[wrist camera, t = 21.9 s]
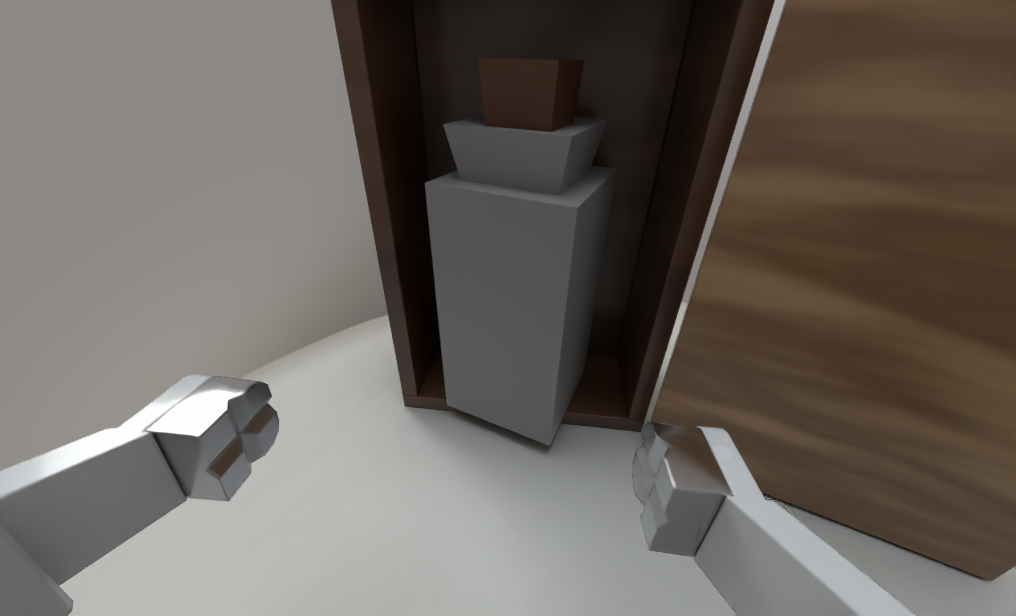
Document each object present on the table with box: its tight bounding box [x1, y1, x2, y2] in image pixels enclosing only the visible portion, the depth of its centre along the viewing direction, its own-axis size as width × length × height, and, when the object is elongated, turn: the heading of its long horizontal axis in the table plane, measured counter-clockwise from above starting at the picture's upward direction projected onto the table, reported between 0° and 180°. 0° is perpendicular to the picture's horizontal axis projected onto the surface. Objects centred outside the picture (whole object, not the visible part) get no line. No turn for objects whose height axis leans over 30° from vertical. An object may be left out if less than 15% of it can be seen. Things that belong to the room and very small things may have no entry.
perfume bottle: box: [425, 58, 617, 446], centre depth 20 cm, size 7×7×18 cm
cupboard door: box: [643, 0, 1016, 581], centre depth 16 cm, size 6×15×23 cm, turn 63°
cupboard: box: [331, 0, 775, 431], centre depth 21 cm, size 7×15×23 cm, turn 83°
